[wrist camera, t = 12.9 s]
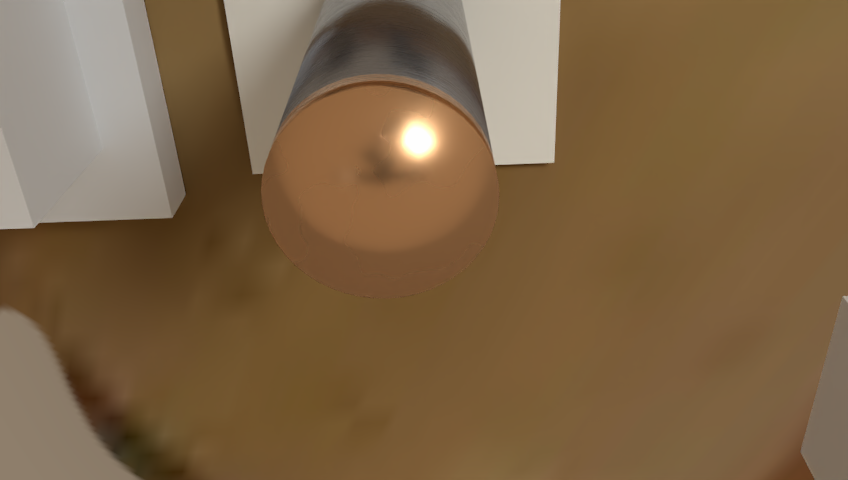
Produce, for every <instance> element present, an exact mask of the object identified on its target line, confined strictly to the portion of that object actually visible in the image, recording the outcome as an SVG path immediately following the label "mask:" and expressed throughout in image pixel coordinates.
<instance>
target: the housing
mask: <svg viewBox="0 0 848 480" xmlns="http://www.w3.org/2000/svg"><path fill="white" fill-rule="evenodd" d="M185 195H186V193H185V188H184V184H183V179H182V174H181V170H180V165H179V160H178V156H177V151H176V147H175V142H174V137H173V133H172V128H171V124H170V119H169V114H168V110H167V105H166V100H165V96H164V91H163V87H162V82H161V77H160V73H159V68H158V63H157V59H156V54H155V50H154V45H153V40H152V36H151V31H150V27H149V22H148V17H147V13H146V8H145V3H144V0H0V229H21V228H35V227H36V225H37V224H38V223H47V222H75V221H102V220H130V219H157V218H173V216H174V214H175V213H176V211H177V209H178V207H179V206H180V204H181V202H182V201H183V199H184V197H185Z"/></svg>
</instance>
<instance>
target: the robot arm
mask: <svg viewBox="0 0 848 480" xmlns="http://www.w3.org/2000/svg"><path fill="white" fill-rule="evenodd" d="M801 454H802V456H803V458H804V459H805V461H806V463H807V465H808V467H809V469H810V471H811V473H812V475H813V477H814V479H815V480H848V296H842V300H841V304H840V308H839V311H838V315H837V319H836V322H835V326H834V330H833V333H832V337H831V341H830V345H829V348H828V352H827V356H826V359H825V363H824V367H823V370H822V374H821V378H820V382H819V385H818V389H817V393H816V396H815V400H814V404H813V407H812V411H811V415H810V419H809V422H808V426H807V430H806V433H805V437H804V441H803V444H802V448H801Z"/></svg>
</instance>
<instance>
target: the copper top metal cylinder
mask: <svg viewBox="0 0 848 480" xmlns="http://www.w3.org/2000/svg"><path fill="white" fill-rule="evenodd" d="M261 197H262V207H263V211H264V215H265V219H266V222H267V224H268V227H269V230H270V232H271V234H272V236H273V237H274V239H275V241H276V243H277V244H278V246H279V247H280V248H281V250H282V251H283V253H284V254H285V255H286V256H287V257H288V258H289V259H290V260H291V261H292V262H293V263H294V265H295V266H297V267H298V268H299V269H300V270H302V271H303V272H304V273H305V274H307V275H308V276H310V277H311V278H313V279H315V280H316V281H318V282H320V283H322V284H324V285H326V286H328V287H330V288H332V289H335V290H338V291H341V292H343V293H347V294H351V295H355V296H360V297H368V298H397V297H405V296H410V295H415V294H418V293H421V292H425V291H428V290H430V289H433V288H435V287H437V286H439V285H442V284H443V283H445V282H447V281H448V280H450V279H452V278H453V277H455V276H456V275H458V274H459V273H460V272H461V271H463V270H464V269H465V268H466V267H467V266H468V265H469V264H470V263H471V262H472V261H473V260H474V259H475V258H476V257H477V255H478V254H479V253H480V252H481V250H482V249H483V247H484V246H485V244H486V242H487V240H488V239H489V237H490V235H491V232H492V230H493V227H494V225H495V221H496V217H497V213H498V206H499V183H498V178H497V173H496V168H495V163H494V158H493V153H492V148H491V143H490V138H489V133H488V128H487V123H486V118H485V113H484V108H483V103H482V98H481V93H480V88H479V83H478V78H477V73H476V68H475V63H474V58H473V53H472V48H471V43H470V38H469V33H468V28H467V23H466V18H465V13H464V8H463V3H462V0H324V3H323V6H322V9H321V11H320V14H319V17H318V20H317V22H316V25H315V28H314V31H313V33H312V36H311V39H310V42H309V44H308V47H307V50H306V53H305V55H304V58H303V61H302V64H301V66H300V69H299V72H298V75H297V77H296V80H295V83H294V86H293V88H292V91H291V94H290V97H289V99H288V102H287V105H286V108H285V110H284V113H283V116H282V119H281V121H280V124H279V127H278V130H277V132H276V135H275V138H274V141H273V143H272V146H271V149H270V152H269V154H268V157H267V160H266V163H265V166H264V171H263V175H262V185H261Z"/></svg>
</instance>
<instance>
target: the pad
mask: <svg viewBox="0 0 848 480" xmlns="http://www.w3.org/2000/svg"><path fill="white" fill-rule="evenodd" d="M323 3H324V0H224V5H225V11H226V17H227V23H228V29H229V35H230V41H231V47H232V53H233V59H234V65H235V71H236V77H237V83H238V89H239V95H240V101H241V107H242V113H243V119H244V125H245V131H246V137H247V143H248V149H249V155H250V161H251V167H252V172H253V174H263V171H264V166H265V163H266V160H267V157H268V154H269V152H270V149H271V146H272V143H273V141H274V138H275V135H276V132H277V130H278V127H279V124H280V121H281V119H282V116H283V113H284V110H285V108H286V105H287V102H288V99H289V97H290V94H291V91H292V88H293V86H294V83H295V80H296V77H297V75H298V72H299V69H300V66H301V64H302V61H303V58H304V55H305V53H306V50H307V47H308V44H309V42H310V39H311V36H312V33H313V31H314V28H315V25H316V22H317V20H318V17H319V14H320V11H321V9H322V6H323ZM462 3H463V8H464V13H465V18H466V23H467V28H468V33H469V38H470V43H471V48H472V53H473V58H474V63H475V68H476V73H477V78H478V83H479V88H480V93H481V98H482V103H483V108H484V113H485V118H486V123H487V128H488V133H489V138H490V143H491V148H492V153H493V158H494V163H495V165H507V164H533V163H554V154H555V128H556V102H557V77H558V51H559V26H560V0H462Z"/></svg>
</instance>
